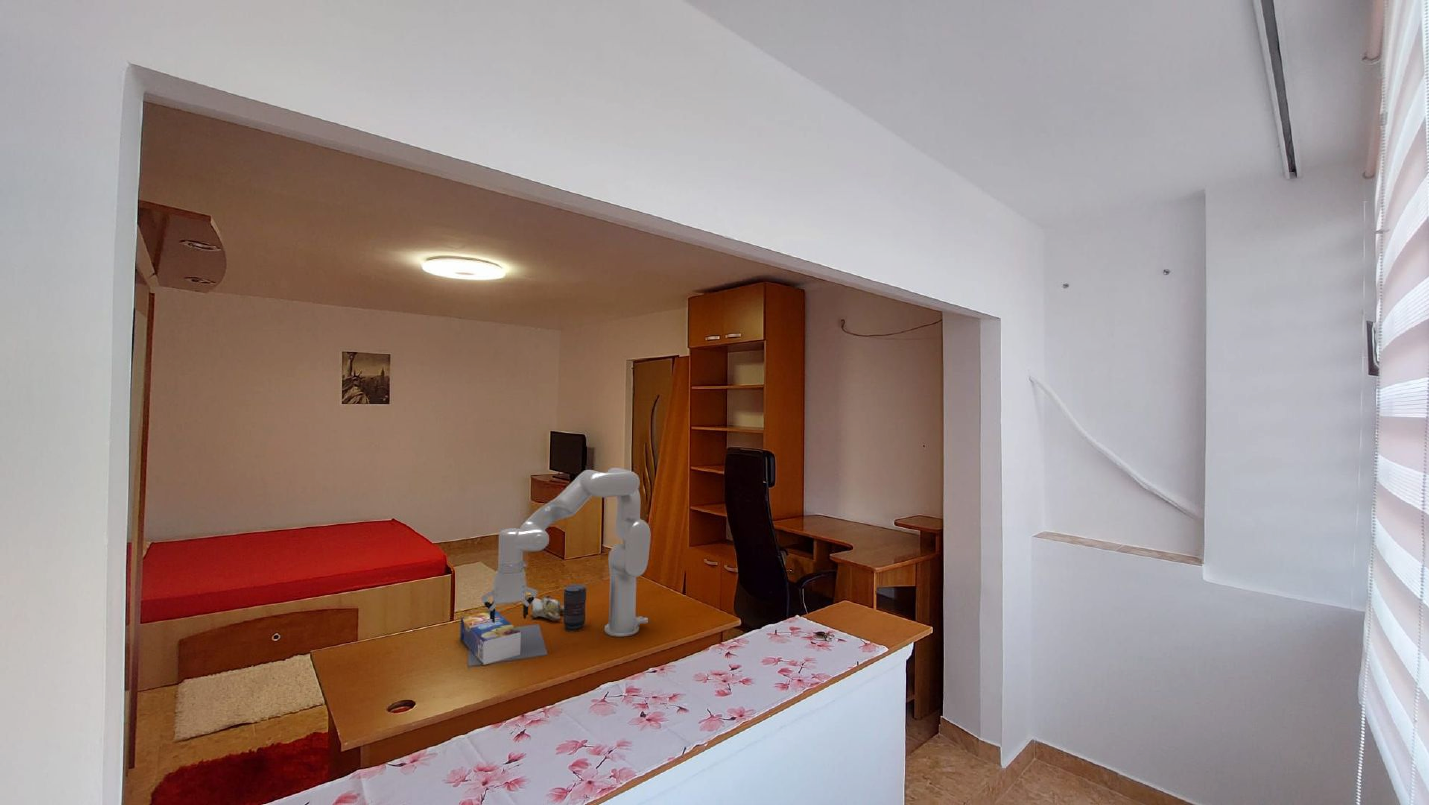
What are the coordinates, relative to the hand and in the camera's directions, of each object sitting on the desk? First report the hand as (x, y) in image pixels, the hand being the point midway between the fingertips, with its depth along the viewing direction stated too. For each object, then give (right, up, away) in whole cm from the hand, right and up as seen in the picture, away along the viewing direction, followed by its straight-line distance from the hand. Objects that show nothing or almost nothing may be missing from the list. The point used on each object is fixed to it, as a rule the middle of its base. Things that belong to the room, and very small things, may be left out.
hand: (509, 619), depth 185 cm
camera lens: (+15, -13, +24) cm, 32 cm away
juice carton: (-1, -8, -3) cm, 9 cm away
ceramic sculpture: (+3, -13, +33) cm, 36 cm away
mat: (-4, -12, +9) cm, 16 cm away
